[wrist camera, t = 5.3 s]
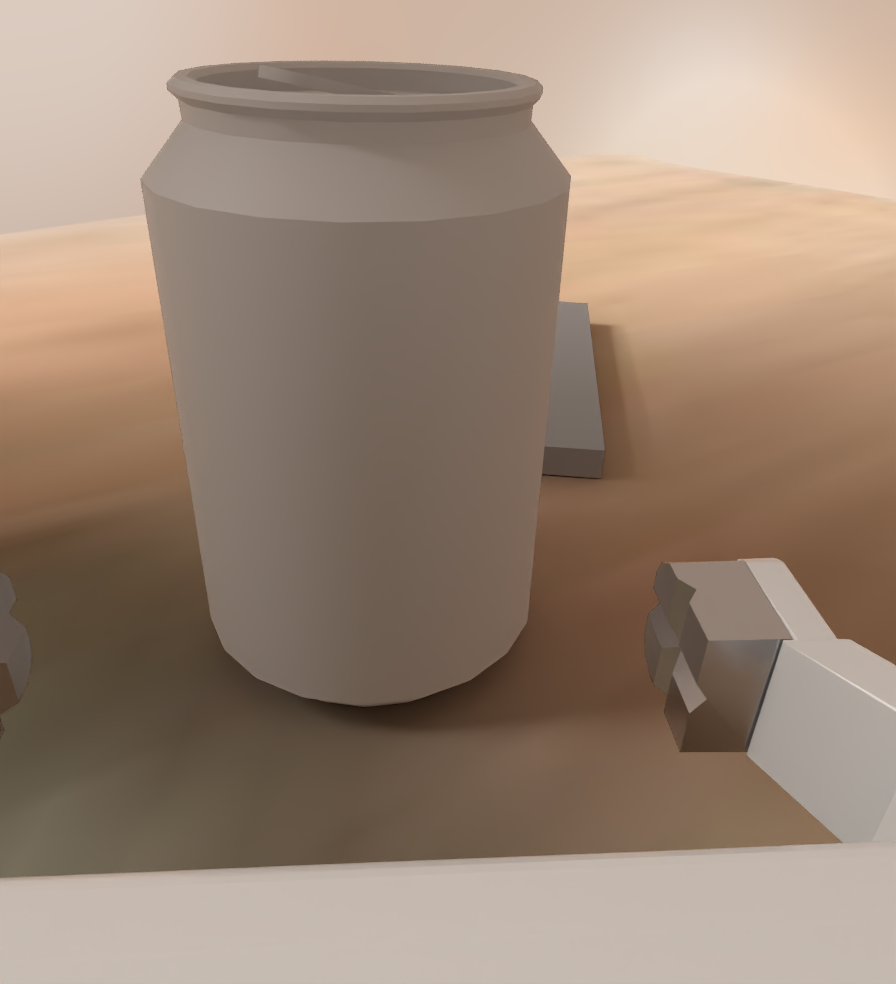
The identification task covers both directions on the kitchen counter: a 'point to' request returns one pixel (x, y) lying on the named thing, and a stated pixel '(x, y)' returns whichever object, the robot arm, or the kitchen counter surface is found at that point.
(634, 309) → the kitchen counter surface
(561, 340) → the slate tile
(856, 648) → the robot arm
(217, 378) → the can
